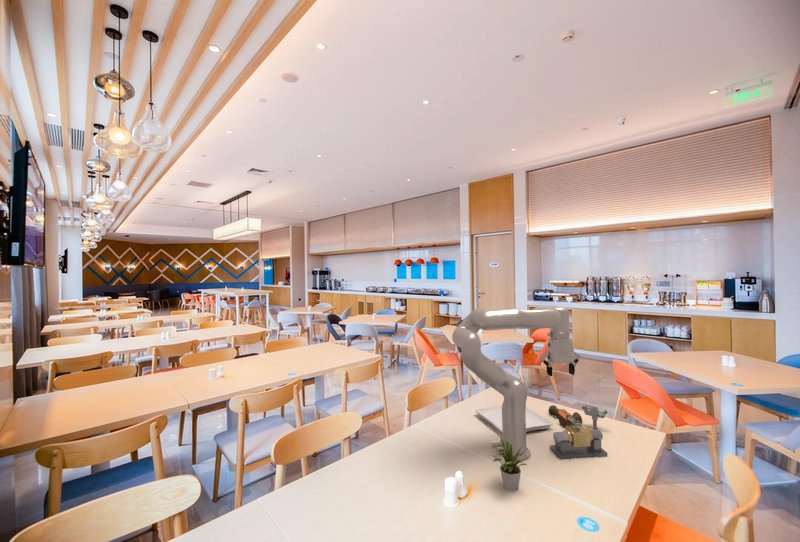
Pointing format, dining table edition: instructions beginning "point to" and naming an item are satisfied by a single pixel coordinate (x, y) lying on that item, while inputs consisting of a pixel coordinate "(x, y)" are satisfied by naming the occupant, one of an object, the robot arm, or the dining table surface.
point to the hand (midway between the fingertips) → (560, 374)
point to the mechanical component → (594, 414)
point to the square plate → (495, 413)
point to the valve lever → (570, 418)
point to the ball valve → (578, 443)
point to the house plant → (509, 466)
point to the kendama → (562, 420)
